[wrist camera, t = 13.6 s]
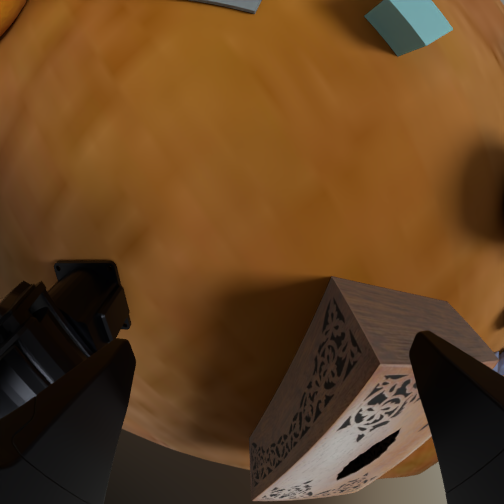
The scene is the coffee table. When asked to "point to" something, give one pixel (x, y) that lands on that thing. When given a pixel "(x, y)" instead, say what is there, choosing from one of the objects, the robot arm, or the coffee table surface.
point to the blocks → (499, 363)
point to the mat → (236, 4)
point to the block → (408, 23)
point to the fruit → (9, 12)
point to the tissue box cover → (351, 393)
